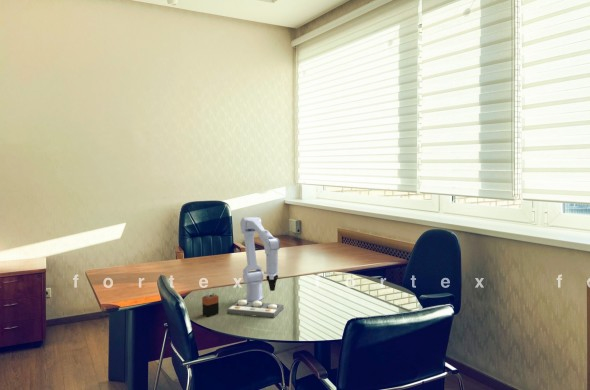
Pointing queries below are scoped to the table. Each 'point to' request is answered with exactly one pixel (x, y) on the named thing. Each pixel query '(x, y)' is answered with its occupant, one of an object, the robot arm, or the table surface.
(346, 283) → the table surface
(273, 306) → the button
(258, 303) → the button
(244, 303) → the button
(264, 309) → the button board
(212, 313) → the battery
